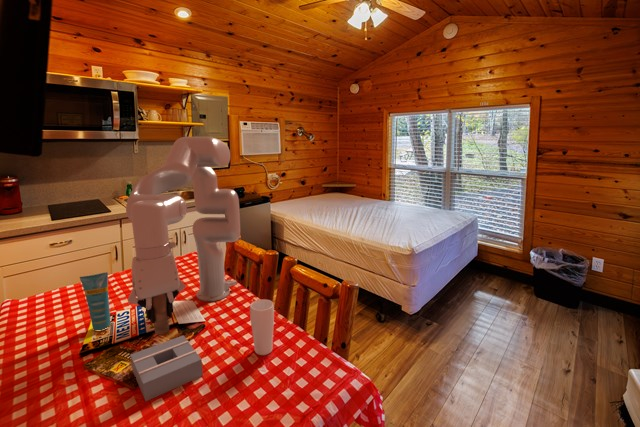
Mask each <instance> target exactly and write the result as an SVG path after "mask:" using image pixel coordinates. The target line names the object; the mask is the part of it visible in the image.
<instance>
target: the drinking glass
mask: <svg viewBox="0 0 640 427" xmlns="http://www.w3.org/2000/svg"><path fill="white" fill-rule="evenodd" d="M274 305H275V304H274V302H273V301H272V300H270V299H265V298H264V299H257V300H254V301H253V302H251V303H250V305H249V314H250V316H249V317H250V324H251V333H252V338H253V346H254V347H253V348H254V352H255V354H257V355H258V356H266V355H269V354H270V353H271V352H272V351H273V347H274V346H273V341H274V326H275V325H274V323H275V321H274V320H275V308H274V307H275V306H274Z"/></svg>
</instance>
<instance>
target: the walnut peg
mask: <svg viewBox="0 0 640 427" xmlns="http://www.w3.org/2000/svg"><path fill="white" fill-rule="evenodd" d="M151 305H152V307H153V308H154V314H155V323H153V328H154V333H155V334H156V335H163V334H164V335H165V334H166V333H168V332H169V331H170V324H169V317H168V312H167V303H166V294H161V295H157V296H154V297H152V301H151Z"/></svg>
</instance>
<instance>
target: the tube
mask: <svg viewBox="0 0 640 427" xmlns="http://www.w3.org/2000/svg"><path fill="white" fill-rule="evenodd" d="M108 276H109V274H108V271H107V272H100V273H96V274H91V275H90V274H89V275H83V276H79V279H80V283H81V285H82V289H83V291H84V295H85V299H86V303H87V307H88V311H89V316H90V320H91V325H92V330H93V329H94V330H102V329H105V328H107V327H108V326H109V325H110V324H111V313H110V300H109V283H108V280H109V279H108V278H109V277H108ZM94 330H93V331H94Z"/></svg>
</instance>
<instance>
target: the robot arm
mask: <svg viewBox="0 0 640 427" xmlns="http://www.w3.org/2000/svg"><path fill="white" fill-rule="evenodd" d="M230 161H231V151H230V149H229V146H228V145H227V143H226V142H224V141H222V140H220V139H218V138H215V137H212V136H182V137H179V138H177V139H176V140H175V141H174V143H173V145H172V147H171V149H170V151H169V152H168V155H167V158H166V159H165V161H164V164H163V165H162V166H160V167H159V168H155V169H154V170H153V171H151V172H149V173H147V174H146V175H145V176H143V177H142V178H140V179H139V180H138V181H137V182H136V183H135V185H134V187H133V188H132V190H131V192H130V195H128V198H127V201H126V206H125V213H126V216H127V218H128V219H129V220H130V221H131V226H132V234H133V241H134V242H133V243H134V248H135V249H134V252H135V256H134V257H133V258H132V262H131V280H132V281H131V282H132V290H131V292H130V294H129V296H128V298H127V302H128V303H129V304H132V305H138V306H140V307H142V308H144V309H145V314H146V319H147V321H150V322H151V324H153V325H154V323H155V314H154V308H153V307H152V303H151V301H152V297H154V296H157V295H161V294H166V303H167V312H168V319H171V318H173V314H172V313H174V302H175V299H176V297H178V295H179V293H181V292H182V291H183V290H184V289H186V287H187V286H186V285H185V284H184V283H183V281H182V280H181V279H180V277H179V271H178V270H179V269H178V267H177V266H178V265H177V261H176V259H175V255H174V253H173V251H172V249H173V248H176V242H175V241H170V239H169V229H168V226H170V225H174V224H178V223H180V222H181V221H182V220H183V219H184V218H185V216H186V215H187V213H188V212H187V211H188V205H187V202H186V200H185V199H184V198H183V197H182V196H180V195H177V194H163V193H165V192H169V191H173V190H177V189H179V188H181V187H184V186H186V185H188V184H190V182H191V181H192V186H193V197H194V206H195V210H196V212H197V213H198V214H201V215H224V216H225V217H224V216H223V217H219V216H217V217H216V216H210V217H209V216H207V217H200V218H197V219H196V220H195V221H194V222H193V223H192V235H193V238H194V242H195V246H196V253H197V263H198V264H197V266H198V276H199V278H198V279H199V290H198V291H197V292H196V298H197V300H200V301H201V302H215V301H216V302H217V301H220V300H222V299H224V298H227V297H228V296H229V295H230V293H231V292H230V287H233V286H236V285H237V284H238V283H237V280H236V279H235V280H231V279H228V280H226V277H225V276H226V275H225V263H224V262H225V261H224V251H223V248H222V247H221V245H220V244H219V243H233V242H234V243H235V242H237V241H238V240H239V239H240V237H241V215H240V200H239V195H238V193H237V191H235V190H234V189H231V188H219V187H218V175H217V174H216V172H215V170H214V169H213V168H225V167H227V166H229V164H230Z"/></svg>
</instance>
